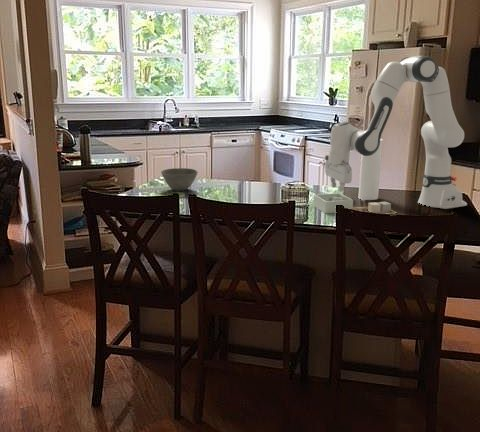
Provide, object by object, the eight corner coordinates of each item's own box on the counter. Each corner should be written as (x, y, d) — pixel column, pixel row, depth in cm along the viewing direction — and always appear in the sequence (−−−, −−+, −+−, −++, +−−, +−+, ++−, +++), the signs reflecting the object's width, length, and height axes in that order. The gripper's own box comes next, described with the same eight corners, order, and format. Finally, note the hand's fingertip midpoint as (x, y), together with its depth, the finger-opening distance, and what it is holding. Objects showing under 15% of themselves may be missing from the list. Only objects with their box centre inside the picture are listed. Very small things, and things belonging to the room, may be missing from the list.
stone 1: (338, 205, 241) (340, 197, 240) (341, 207, 237) (343, 199, 236) (330, 204, 240) (332, 196, 239) (333, 207, 236) (335, 198, 235)
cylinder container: (363, 195, 262) (368, 136, 254) (381, 198, 256) (386, 138, 248) (354, 199, 255) (359, 138, 247) (372, 202, 249) (377, 140, 241)
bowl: (196, 194, 261) (196, 175, 258) (159, 194, 261) (158, 174, 259) (199, 186, 279) (199, 167, 276) (165, 185, 279) (164, 167, 277)
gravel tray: (382, 209, 237) (382, 205, 237) (396, 216, 226) (397, 212, 226) (350, 211, 233) (351, 207, 233) (363, 219, 222) (364, 215, 222)
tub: (339, 205, 243) (339, 193, 242) (352, 213, 231) (353, 199, 229) (313, 207, 240) (313, 194, 238) (325, 214, 228) (325, 201, 226)
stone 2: (375, 210, 232) (376, 202, 231) (379, 213, 228) (380, 204, 227) (367, 211, 231) (368, 202, 230) (371, 213, 227) (372, 205, 226)
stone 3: (384, 210, 233) (385, 201, 232) (390, 212, 230) (391, 203, 229) (377, 210, 232) (378, 202, 231) (382, 213, 228) (383, 204, 227)
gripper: (356, 162, 223) (354, 193, 227) (335, 154, 242) (334, 183, 246) (343, 163, 222) (341, 194, 226) (323, 155, 241) (321, 184, 245)
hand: (337, 188), depth 236 cm, fingers open, 6 cm apart
